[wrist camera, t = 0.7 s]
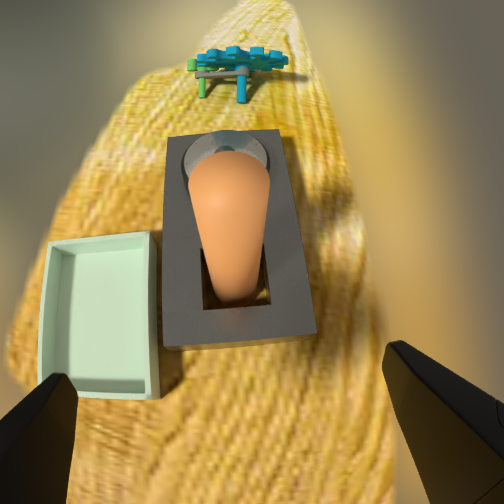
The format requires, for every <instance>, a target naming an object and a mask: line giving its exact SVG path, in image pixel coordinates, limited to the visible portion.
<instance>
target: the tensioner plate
mask: <svg viewBox="0 0 504 504" xmlns="http://www.w3.org/2000/svg"><path fill="white" fill-rule="evenodd" d="M223 151H237V152H243V153H246V154H249V155H251V156H253V157H255V158H256V159H258V160H259V161H260V162H261V163H262V164H263V165H264V166H265V168H266V169H267V171H268V174H269V177H270V189H269V197H268V205H267V213H266V221H265V228H264V236H263V244H262V252H261V257H262V263H263V271H264V279H265V287H266V295H267V304H268V305H262V306H251V307H240V308H228V309H215V310H206V295H205V276H204V262H206V258H205V254H204V250H203V246H202V242H201V238H200V234H199V230H198V226H197V222H196V218H195V214H194V209H193V205H192V201H191V197H190V192H189V187H188V183H189V177H190V174H191V172H192V170H193V169H194V167H195V166H196V165H197V164H198V163H199V162H200V161H201V160H203V159H204V158H206V157H208V156H210V155H212V154H215V153H218V152H223ZM162 321H163V346H164V347H165V348H167V349H168V350H170V351H189V350H206V349H220V348H233V347H244V346H255V345H265V344H274V343H283V342H292V341H300V340H308V339H311V338H312V337H313V336H314V335H315V334H317V328H316V321H315V315H314V308H313V302H312V296H311V290H310V284H309V278H308V272H307V267H306V261H305V255H304V250H303V244H302V239H301V233H300V228H299V223H298V218H297V213H296V207H295V202H294V197H293V192H292V188H291V183H290V178H289V173H288V168H287V164H286V159H285V154H284V150H283V145H282V141H281V136H280V132H279V129H272V130H248V131H234V130H220V131H215V132H211V133H206V134H195V135H185V136H176V137H168V141H167V154H166V168H165V184H164V204H163V231H162Z"/></svg>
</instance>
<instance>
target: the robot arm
mask: <svg viewBox="0 0 504 504" xmlns="http://www.w3.org/2000/svg"><path fill="white" fill-rule="evenodd" d="M382 371H383V374H384V378H385V381H386V384H387V387H388V391H389V394H390V398H391V401H392V404H393V408H394V411H395V414H396V417H397V420H398V422H399V425H400V427H401V430H402V432H403V434H404V437H405V439H406V442H407V444H408V447H409V449H410V452H411V454H412V457H413V459H414V462H415V465H416V467H417V470H418V472H419V475H420V478H421V480H422V483H423V486H424V488H425V491H426V494H427V496H428V499H429V502H430V504H504V404H503V403H502V402H501V401H499V400H496V399H495V398H494V397H492V396H491V395H489V394H487V393H486V392H484V391H483V390H481V389H479V388H478V387H476V386H474V385H473V384H472V383H470V382H468V381H466V380H465V379H464V378H462V377H460V376H459V375H457V374H455V373H454V372H452V371H451V370H449V369H448V368H446V367H444V366H443V365H441V364H440V363H438V362H436V361H435V360H433V359H432V358H430V357H428V356H427V355H425V354H424V353H422V352H420V351H419V350H417V349H415V348H414V347H412V346H411V345H409V344H407V343H406V342H404V341H402V340H398V341H393V342H389V343H388V344H387V346H386V349H385V353H384V357H383V361H382ZM77 406H78V393H77V391H76V389H75V387H74V386H73V384H72V382H71V381H70V379H69V377H68V376H67V375H66V374H65V373H58V372H54V373H52V374H51V375H49V376H48V377H47V378H46V379H45V380H44V381H43V382H42V383H40V384H39V385H38V386H37V387H36V388H35V389H34V390H33V391H31V392H30V393H29V394H28V395H27V396H26V397H25V398H24V399H23V400H22V401H20V402H19V403H18V404H17V405H16V406H15V407H14V408H13V409H12V410H11V411H9V412H8V414H6V415H5V416H4V417H3V418H2V419H1V420H0V504H66V498H67V490H68V482H69V474H70V467H71V461H72V454H73V448H74V441H75V429H76V417H77Z"/></svg>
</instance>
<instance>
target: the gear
mask: <svg viewBox="0 0 504 504" xmlns="http://www.w3.org/2000/svg"><path fill="white" fill-rule="evenodd" d="M284 65H288V57H287V56H284V55H282V52H280V51H275V50H272V51H269V54H264V48H263V47H251V48H250V52H248V51H244V50H241V49H240V47H239V46H230V47H226V51H221V50H218V49H210V50H207V54H198V55H197V59H189V60H188V67H187V71H197V72H195V78H196V79H199V98H205V81H206V79H211V78H229V77H237V103H246V77H248V76H249V72H255V69H257V70H261V71H271V70H272V68H276V69H283V68H284ZM197 66H198V67H197ZM219 68H225V72H211V73H210V72H209V71H217V70H219Z"/></svg>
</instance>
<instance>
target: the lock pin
mask: <svg viewBox="0 0 504 504" xmlns="http://www.w3.org/2000/svg"><path fill="white" fill-rule="evenodd" d="M188 187H189V192H190V197H191V201H192V205H193V209H194V214H195V218H196V222H197V226H198V230H199V234H200V238H201V242H202V246H203V250H204V254H205V258H206V262H207V266H208V270H209V274H210V278H211V281H212V285H213V289H214V293H215V296H216V298H217V299H218V300H219V302H221V303H222V304H223V305H225V306H227V307H230V308H240V307H243V306H246V305H247V304H249V303H250V302H251V301H252V300H253V298H254V297H255V294H256V290H257V283H258V275H259V267H260V260H261V252H262V244H263V236H264V228H265V221H266V213H267V205H268V197H269V189H270V177H269V174H268V171H267V169H266V168H265V166H264V165H263V164H262V163H261V162H260V161H259V160H258V159H256V158H255V157H253V156H251V155H249V154H246V153H243V152H237V151H223V152H218V153H215V154H212V155H210V156H208V157H206V158H204V159H203V160H201V161H200V162H199V163H198V164H197V165H196V166H195V167H194V169H193V170H192V172H191V174H190V177H189V183H188Z"/></svg>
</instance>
